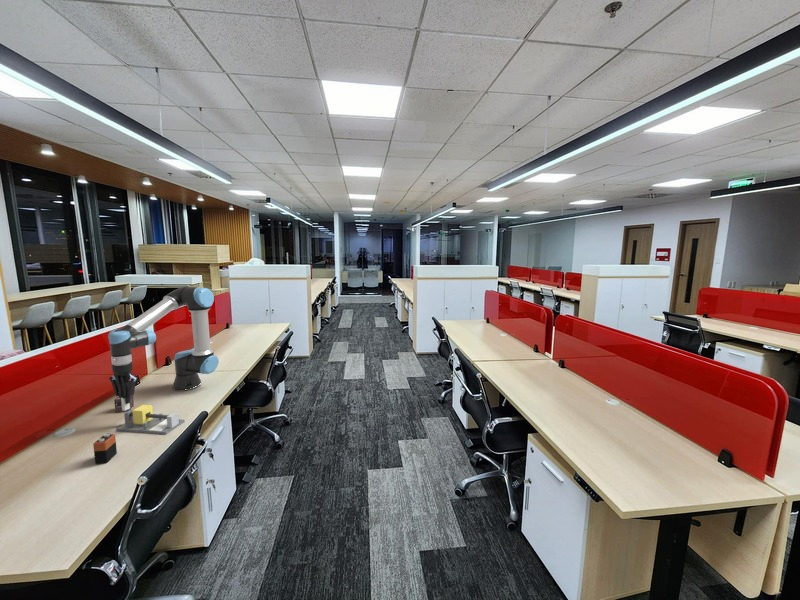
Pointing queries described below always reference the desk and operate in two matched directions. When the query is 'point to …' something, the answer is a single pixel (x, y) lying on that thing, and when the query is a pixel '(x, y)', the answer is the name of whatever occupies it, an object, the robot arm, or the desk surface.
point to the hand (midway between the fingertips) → (126, 409)
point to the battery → (105, 448)
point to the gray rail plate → (151, 423)
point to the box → (119, 405)
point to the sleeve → (142, 414)
